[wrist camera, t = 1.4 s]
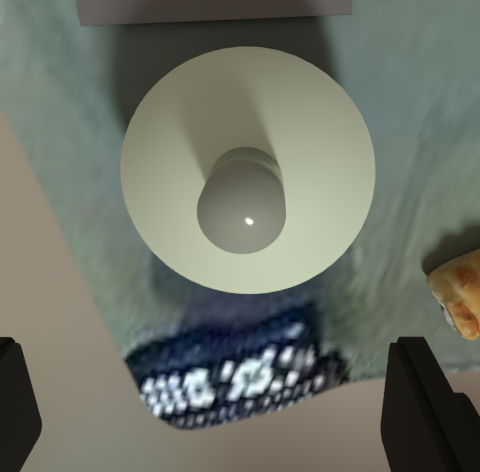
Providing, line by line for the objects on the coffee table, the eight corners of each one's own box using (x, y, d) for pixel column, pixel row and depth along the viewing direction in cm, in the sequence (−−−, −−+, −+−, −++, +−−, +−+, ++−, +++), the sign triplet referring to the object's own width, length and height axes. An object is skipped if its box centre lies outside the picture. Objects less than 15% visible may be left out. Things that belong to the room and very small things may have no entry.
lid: (382, 40, 24) (415, 42, 19) (362, 285, 30) (383, 340, 25) (108, 51, 26) (63, 55, 20) (141, 286, 31) (114, 339, 26)
